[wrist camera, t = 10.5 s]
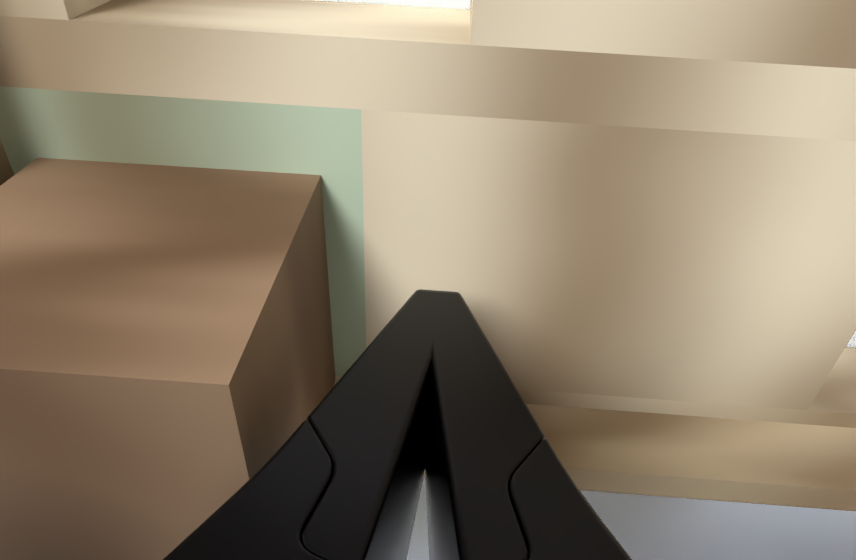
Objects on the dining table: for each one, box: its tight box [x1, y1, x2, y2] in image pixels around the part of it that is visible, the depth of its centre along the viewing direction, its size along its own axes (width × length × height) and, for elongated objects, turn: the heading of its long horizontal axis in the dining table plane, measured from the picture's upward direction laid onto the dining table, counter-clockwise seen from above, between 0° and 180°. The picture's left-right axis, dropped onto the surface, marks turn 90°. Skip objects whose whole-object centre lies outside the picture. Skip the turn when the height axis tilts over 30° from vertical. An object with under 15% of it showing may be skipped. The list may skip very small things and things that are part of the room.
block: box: [0, 158, 335, 560], centre depth 9 cm, size 4×4×4 cm
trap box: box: [0, 0, 856, 511], centre depth 9 cm, size 20×14×4 cm
